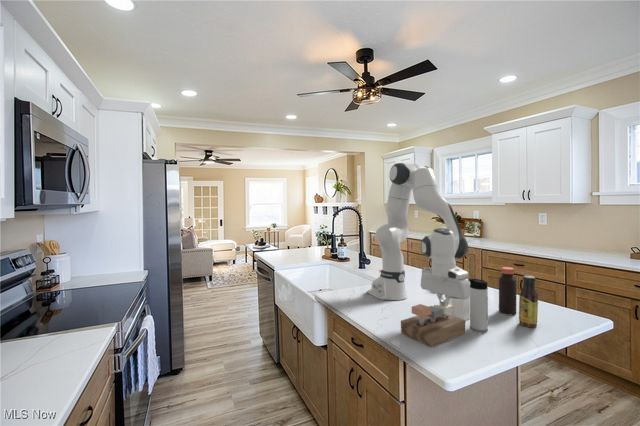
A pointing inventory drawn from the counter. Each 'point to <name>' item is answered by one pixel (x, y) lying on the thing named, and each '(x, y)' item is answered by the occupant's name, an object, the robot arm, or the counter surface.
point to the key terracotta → (421, 312)
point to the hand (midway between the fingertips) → (444, 305)
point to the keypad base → (433, 329)
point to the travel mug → (478, 305)
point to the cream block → (444, 309)
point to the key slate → (435, 313)
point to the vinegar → (507, 291)
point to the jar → (460, 308)
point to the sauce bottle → (528, 303)
